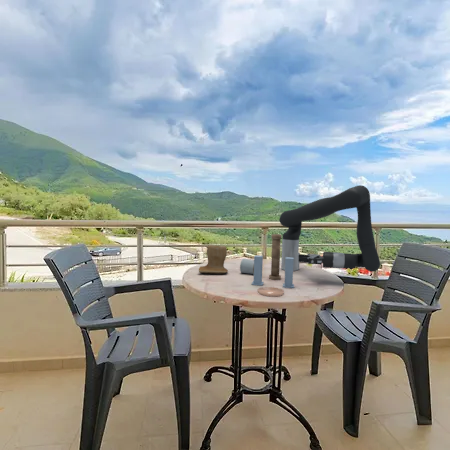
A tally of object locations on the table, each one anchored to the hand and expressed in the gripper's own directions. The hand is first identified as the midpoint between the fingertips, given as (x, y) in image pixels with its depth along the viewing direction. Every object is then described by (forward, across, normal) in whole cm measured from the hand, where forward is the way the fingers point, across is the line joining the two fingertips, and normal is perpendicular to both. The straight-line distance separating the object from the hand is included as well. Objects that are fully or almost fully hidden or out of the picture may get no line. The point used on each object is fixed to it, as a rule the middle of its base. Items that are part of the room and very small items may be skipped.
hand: (298, 258), depth 158 cm
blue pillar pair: (+11, +13, +11) cm, 20 cm away
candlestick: (+11, 0, +11) cm, 16 cm away
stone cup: (+44, -3, +11) cm, 45 cm away
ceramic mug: (+25, -9, +11) cm, 29 cm away
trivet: (+11, +26, +11) cm, 30 cm away
